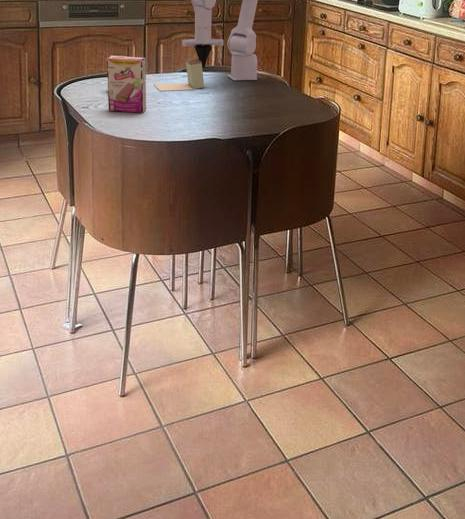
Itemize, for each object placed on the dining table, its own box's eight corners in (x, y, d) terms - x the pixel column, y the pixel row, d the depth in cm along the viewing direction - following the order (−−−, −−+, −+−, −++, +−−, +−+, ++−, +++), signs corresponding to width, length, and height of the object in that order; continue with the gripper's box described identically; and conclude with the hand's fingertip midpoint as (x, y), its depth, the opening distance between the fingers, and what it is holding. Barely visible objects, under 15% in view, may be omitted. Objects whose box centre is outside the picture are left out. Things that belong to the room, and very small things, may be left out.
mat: (186, 83, 265) (186, 82, 265) (193, 90, 256) (193, 89, 256) (153, 84, 261) (153, 84, 261) (159, 91, 253) (159, 90, 253)
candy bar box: (108, 111, 227) (105, 58, 220) (112, 107, 232) (110, 55, 224) (143, 113, 226) (142, 60, 219) (146, 109, 231) (145, 57, 223)
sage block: (199, 82, 265) (196, 57, 260) (204, 87, 259) (201, 61, 254) (188, 84, 264) (185, 59, 259) (193, 89, 258) (190, 63, 253)
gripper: (185, 29, 247) (185, 69, 253) (226, 28, 252) (225, 68, 257) (180, 25, 253) (180, 65, 259) (220, 25, 257) (219, 64, 263)
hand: (202, 66), depth 259 cm, fingers closed
